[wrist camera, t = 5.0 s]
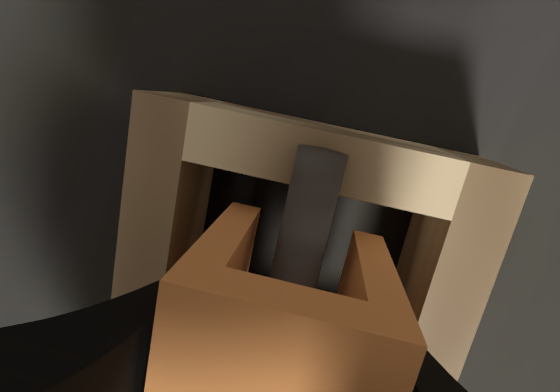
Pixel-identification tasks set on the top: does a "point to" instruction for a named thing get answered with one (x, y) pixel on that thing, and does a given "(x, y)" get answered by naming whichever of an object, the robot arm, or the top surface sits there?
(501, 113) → the top surface
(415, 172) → the shelf block
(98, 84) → the top surface
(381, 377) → the orange u-channel
